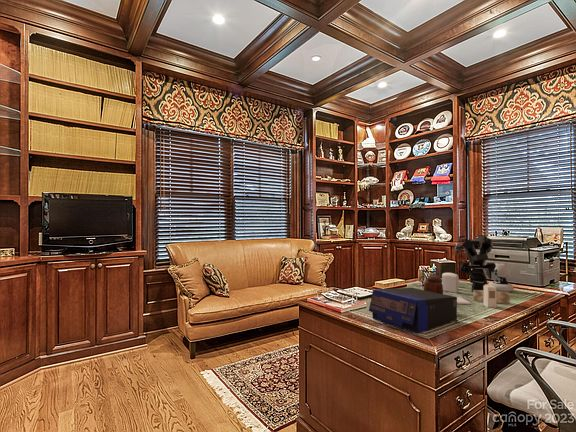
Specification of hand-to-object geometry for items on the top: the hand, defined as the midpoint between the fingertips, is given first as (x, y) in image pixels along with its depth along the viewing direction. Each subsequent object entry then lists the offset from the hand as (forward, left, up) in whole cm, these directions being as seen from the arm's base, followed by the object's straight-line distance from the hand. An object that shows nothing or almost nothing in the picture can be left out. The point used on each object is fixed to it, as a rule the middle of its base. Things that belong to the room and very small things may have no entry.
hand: (482, 278), depth 184 cm
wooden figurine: (+33, +16, -14) cm, 39 cm away
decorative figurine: (-29, -32, -14) cm, 46 cm away
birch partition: (-6, -1, -14) cm, 15 cm away
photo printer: (+7, -25, -14) cm, 30 cm away
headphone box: (+51, +35, -14) cm, 63 cm away
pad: (+15, 0, -14) cm, 20 cm away
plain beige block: (0, +8, -14) cm, 16 cm away
